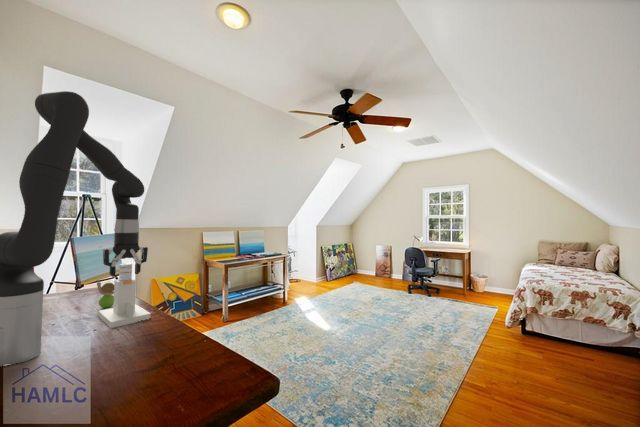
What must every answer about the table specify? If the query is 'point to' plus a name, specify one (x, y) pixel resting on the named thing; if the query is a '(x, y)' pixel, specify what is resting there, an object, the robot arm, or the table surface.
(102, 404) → the table surface
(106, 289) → the snail figurine
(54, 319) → the table surface
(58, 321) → the table surface
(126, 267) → the steel bar
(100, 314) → the grey stand
